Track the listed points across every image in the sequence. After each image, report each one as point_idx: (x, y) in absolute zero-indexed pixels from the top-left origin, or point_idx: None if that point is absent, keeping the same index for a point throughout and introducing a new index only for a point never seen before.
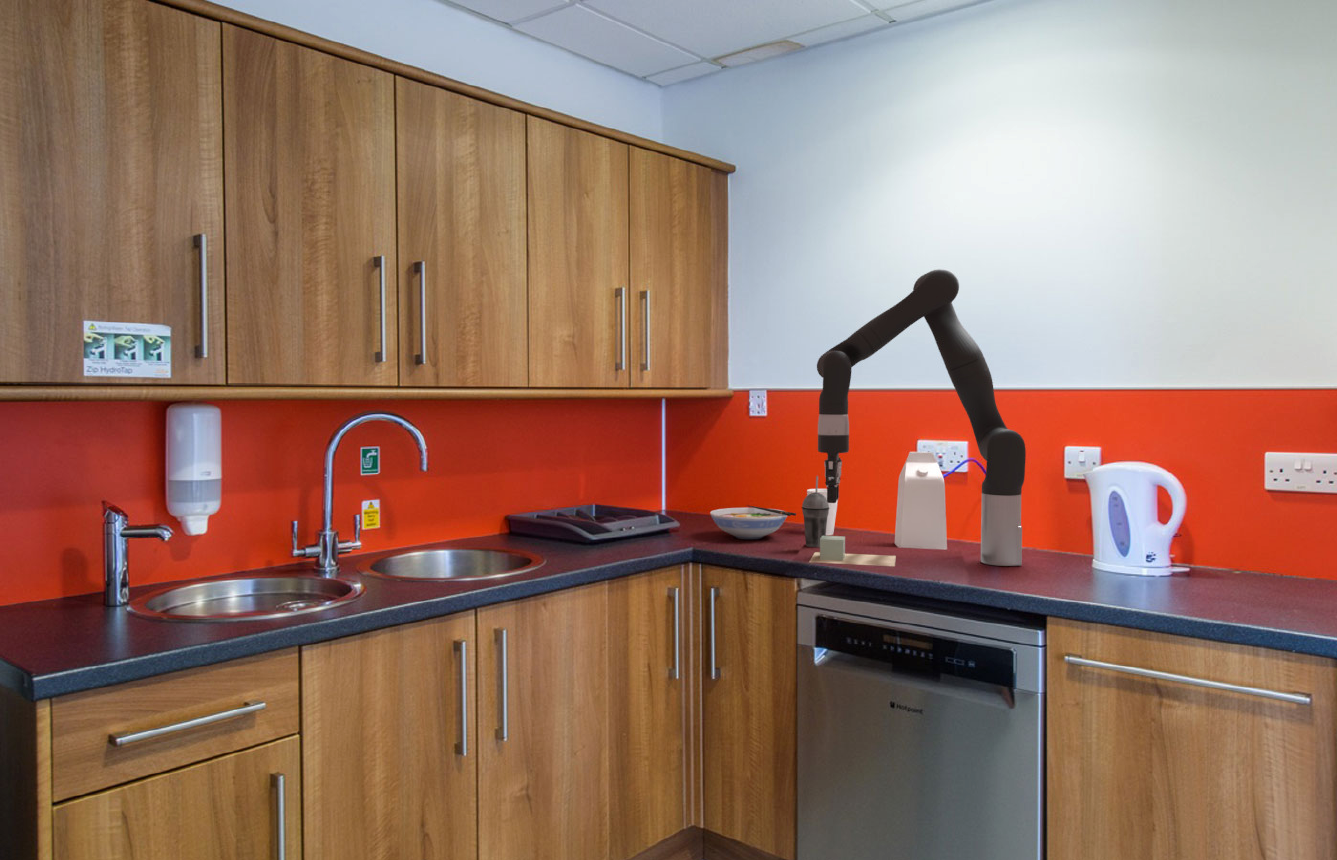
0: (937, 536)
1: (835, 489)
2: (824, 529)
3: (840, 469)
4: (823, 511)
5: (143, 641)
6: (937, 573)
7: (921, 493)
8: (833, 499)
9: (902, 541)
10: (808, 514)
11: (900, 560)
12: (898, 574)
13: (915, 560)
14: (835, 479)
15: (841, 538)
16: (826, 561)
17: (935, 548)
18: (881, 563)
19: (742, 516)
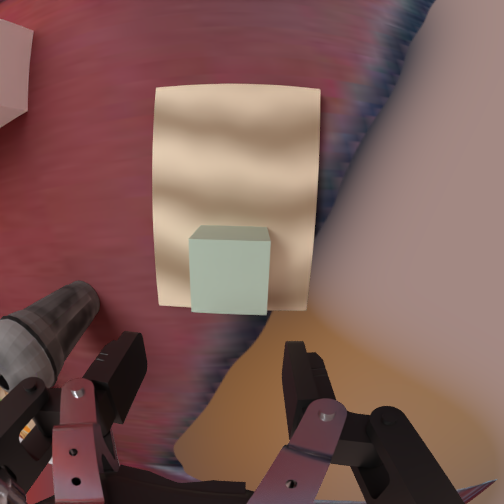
0: (12, 38)
1: (314, 394)
2: (57, 302)
3: (100, 484)
4: (38, 332)
5: (470, 495)
6: (295, 7)
7: None
8: (318, 361)
9: (14, 106)
10: (61, 367)
11: (136, 84)
12: (334, 87)
13: (131, 53)
14: (417, 437)
15: (236, 249)
16: (289, 270)
17: (27, 47)
18: (288, 120)
19: (25, 426)
